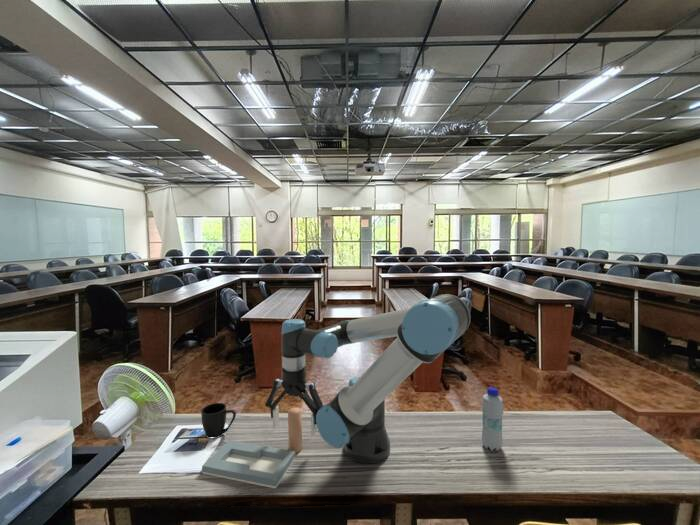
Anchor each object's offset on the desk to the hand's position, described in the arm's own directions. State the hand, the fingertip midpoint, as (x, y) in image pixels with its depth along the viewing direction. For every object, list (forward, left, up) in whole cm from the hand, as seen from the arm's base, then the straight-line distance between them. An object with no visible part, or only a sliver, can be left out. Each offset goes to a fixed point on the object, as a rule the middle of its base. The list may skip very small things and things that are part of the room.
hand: (294, 430), depth 106 cm
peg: (0, 0, -6) cm, 6 cm away
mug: (+30, -1, -7) cm, 31 cm away
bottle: (-63, -17, -7) cm, 66 cm away
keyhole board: (+10, +11, -6) cm, 16 cm away
